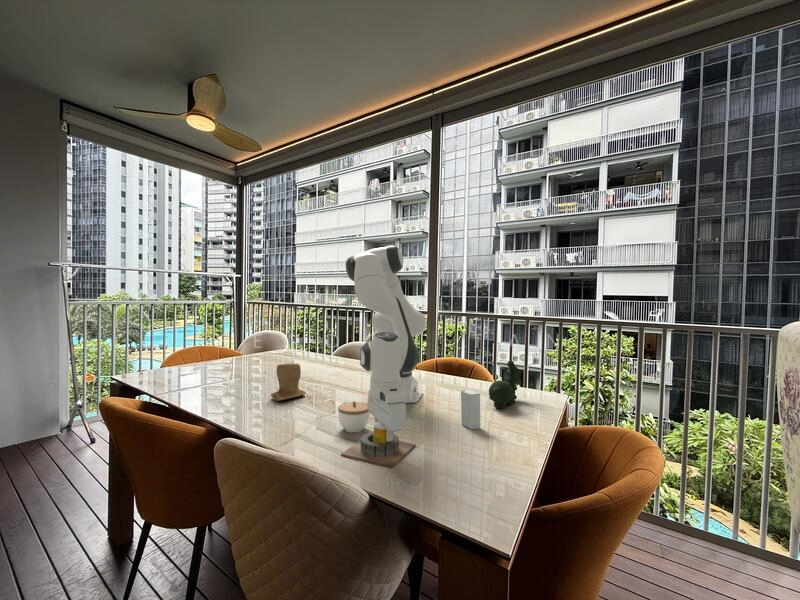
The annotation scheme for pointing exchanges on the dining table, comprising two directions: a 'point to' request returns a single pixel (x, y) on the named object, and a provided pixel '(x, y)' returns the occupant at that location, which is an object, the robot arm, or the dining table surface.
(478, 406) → the skincare box
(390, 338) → the robot arm
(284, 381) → the brown flared stand
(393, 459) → the grey ring on slab
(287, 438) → the dining table surface
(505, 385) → the toy figurine
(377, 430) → the supplement bottle
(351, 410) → the lidded jar
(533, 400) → the dining table surface
